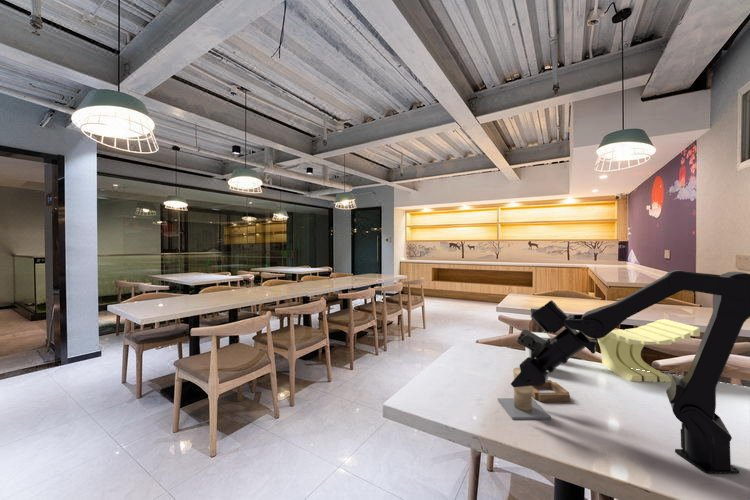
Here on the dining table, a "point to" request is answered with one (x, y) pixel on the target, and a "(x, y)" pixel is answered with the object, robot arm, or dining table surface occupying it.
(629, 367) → the slatted curved stool
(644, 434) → the dining table surface
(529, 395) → the oak peg
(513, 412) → the slate pad
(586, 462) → the dining table surface
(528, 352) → the supplement box
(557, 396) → the walnut frame
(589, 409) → the dining table surface
